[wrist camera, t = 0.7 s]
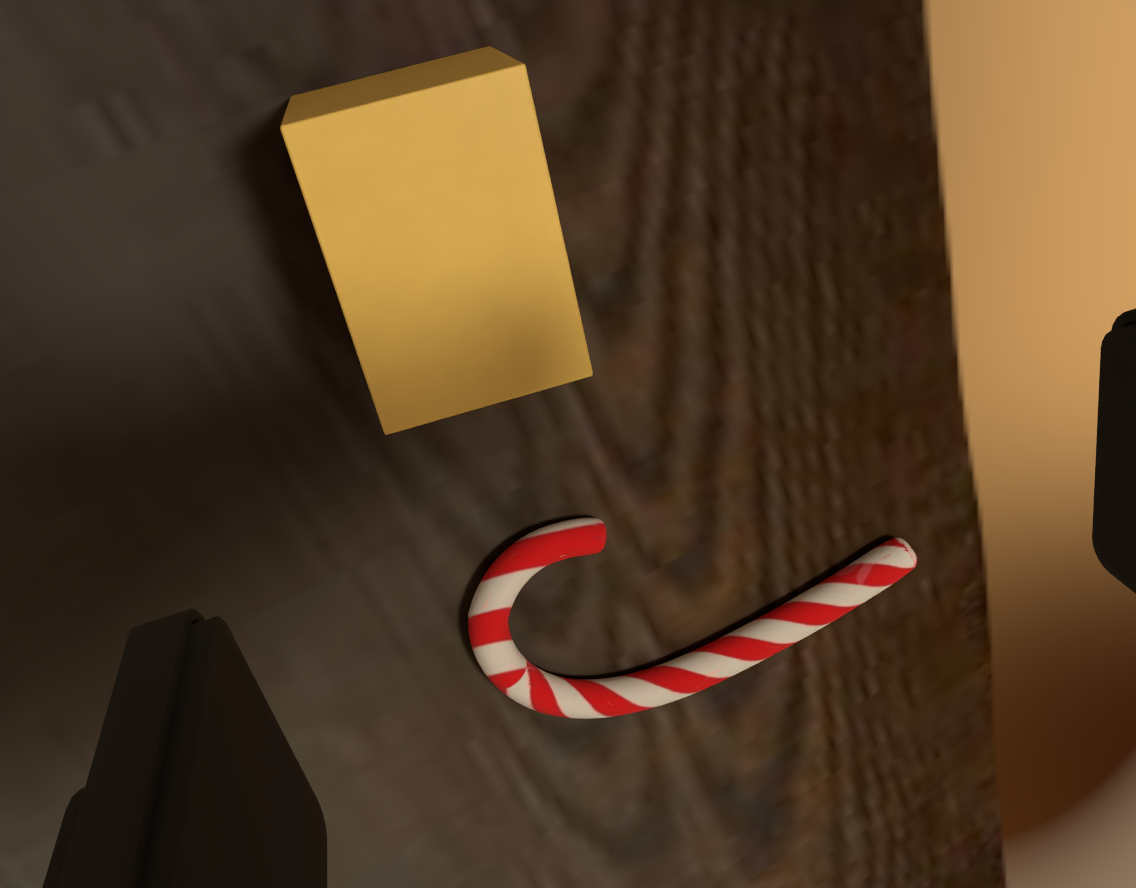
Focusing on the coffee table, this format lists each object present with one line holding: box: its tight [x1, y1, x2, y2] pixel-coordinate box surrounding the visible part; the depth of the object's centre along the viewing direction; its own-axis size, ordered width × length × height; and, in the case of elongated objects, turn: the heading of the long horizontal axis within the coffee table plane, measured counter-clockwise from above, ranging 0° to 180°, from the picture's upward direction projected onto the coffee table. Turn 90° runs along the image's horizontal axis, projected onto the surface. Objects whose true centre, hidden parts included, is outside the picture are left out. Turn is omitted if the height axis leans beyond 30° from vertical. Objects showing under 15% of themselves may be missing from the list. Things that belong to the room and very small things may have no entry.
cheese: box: [280, 46, 593, 435], centre depth 23 cm, size 7×5×5 cm
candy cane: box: [468, 518, 917, 718], centre depth 32 cm, size 8×1×15 cm
